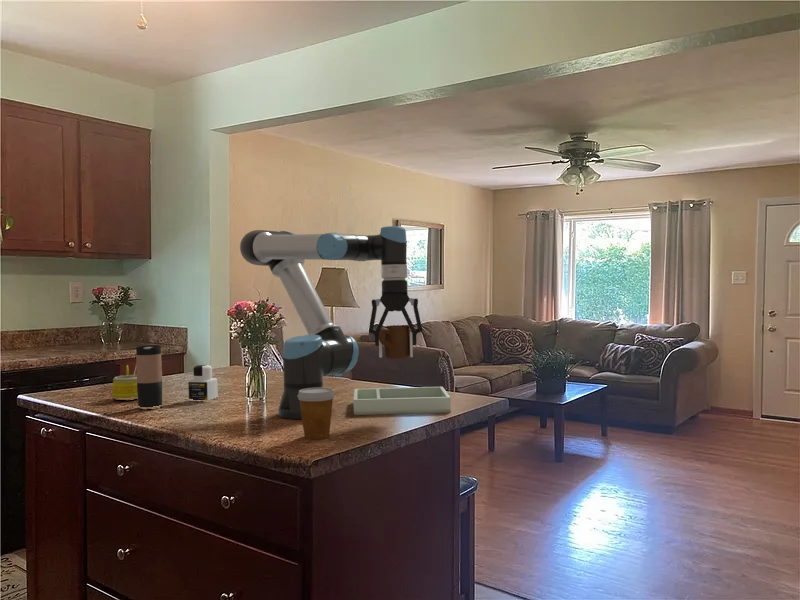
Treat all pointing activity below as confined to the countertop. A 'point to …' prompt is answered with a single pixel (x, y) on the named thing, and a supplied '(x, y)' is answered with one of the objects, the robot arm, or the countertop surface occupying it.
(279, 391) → the countertop surface
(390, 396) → the box
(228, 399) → the countertop surface
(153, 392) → the travel mug
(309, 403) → the disposable coffee cup
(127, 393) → the yellow birthday cake
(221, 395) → the countertop surface
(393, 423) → the countertop surface
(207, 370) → the medicine bottle
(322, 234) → the robot arm
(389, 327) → the mug
